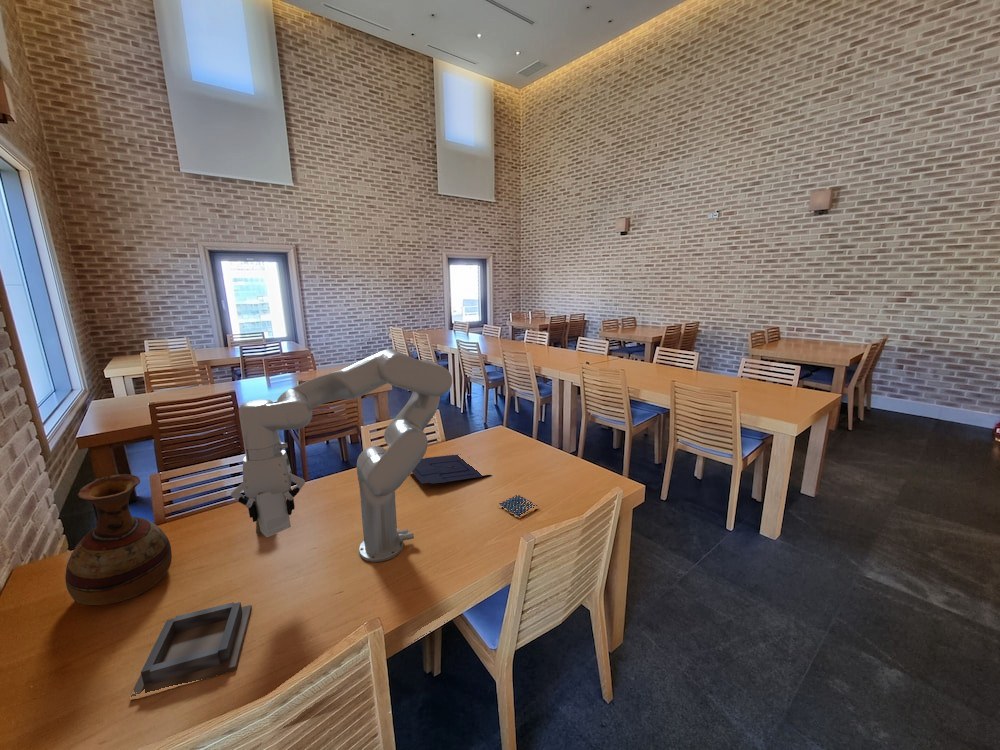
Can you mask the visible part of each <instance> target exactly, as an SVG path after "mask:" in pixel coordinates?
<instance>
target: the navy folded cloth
mask: <svg viewBox="0 0 1000 750" xmlns="http://www.w3.org/2000/svg"><path fill="white" fill-rule="evenodd" d="M458 455H459V454H448V455H441V456H438V455H437V456H433V457H423V458H422V459H421V461H420V462H419V463H418V465H417V466H416V467H415V468H414V470H413V471H412V472H411V473H412V474H413V475H414V476H415V478H416V479H417V480H418V481H419V482H420V484H422V485H423V484H429V483H430V484H431V485H432V484H439V483H449V482H455V481H461V480H467V479H468V480H469V479H473V478H474V479H475V478H483V477H482V475H481V474H480V473H479V472H478V471H477V470H475V469H474V468H473V467H472V466H470V465H469V464H467V463H466V462H465V461H464V460H463V459H461V458H460V457H459V456H458Z"/></svg>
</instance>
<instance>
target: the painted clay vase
mask: <svg viewBox="0 0 1000 750" xmlns="http://www.w3.org/2000/svg"><path fill="white" fill-rule="evenodd" d="M140 483H141V480H140V477H139V476H137V475H134V474H133V475H132V474H127V473H123V474H121V473H117V474H114V475H107V476H106V475H105V476H103V477H100V478H96V479H94V481H92V482H90V483H88V484H86V485H84V486H83V487H82V488H80V489H79V492H78V493H77V496H78V498H79V499H80V500H82V501H85V502H87V503H88V502H89V503H92V504H91V505H92V507H93V511H94V515H95V518H96V523H95V524H96V525H95V527H94V528H92V529H91V530H90V531H88V532H87V533H86V534H85V535H84V536H83V537H82V539H81V540H80V541H79V542H78V543H77V544H76V545H75V548H73V550H72V552H71V554H70V556H69V559H68V560H67V565H66V569H65V577H64V578H65V579H64V580H65V585H66V589H67V592H68V594H69V595H70V597H71V598H72V600H74V602H77V603H78V604H81V605H85V606H86V605H88V606H89V605H90V606H91V605H92V606H98V605H99V606H100V605H101V606H102V605H109V604H113V603H119V602H123V601H126V600H129V599H132V598H135V597H137V596H139V595H141V594H143V593H144V592H147V591H148V590H150V589H151V588H152V587H153V586H155V585H156V584H158V582H159V581H161V580H162V579H163V577H164V576H165V575H166V574H167V573H168V571H169V569H170V567H171V565H172V558H173V557H172V556H173V554H172V553H173V552H172V545H171V542H170V540H169V538H168V536H167V535H166V533H165V532H164V531H163V530H162V528H160V527H159V526H158V525H157V524H155V523H153V522H152V521H150V520H148V519H146V518H143V517H137V516H133V515H132V513H131V511H130V506H129V502H130V496H131V495H132V492H133V490H134V489H135V488H136V487H137V486H138V485H140Z"/></svg>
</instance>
